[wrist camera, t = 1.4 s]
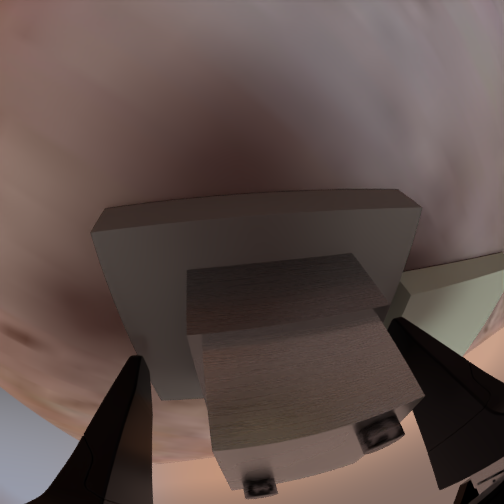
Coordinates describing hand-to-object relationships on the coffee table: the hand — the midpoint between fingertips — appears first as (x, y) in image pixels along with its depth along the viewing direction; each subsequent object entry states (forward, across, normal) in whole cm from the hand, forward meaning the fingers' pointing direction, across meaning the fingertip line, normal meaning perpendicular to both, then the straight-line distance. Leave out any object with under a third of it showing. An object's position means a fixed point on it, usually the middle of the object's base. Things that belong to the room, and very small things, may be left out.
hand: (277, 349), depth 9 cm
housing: (+1, 0, 0) cm, 1 cm away
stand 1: (+2, 0, 0) cm, 2 cm away
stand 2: (+2, -11, +4) cm, 12 cm away
